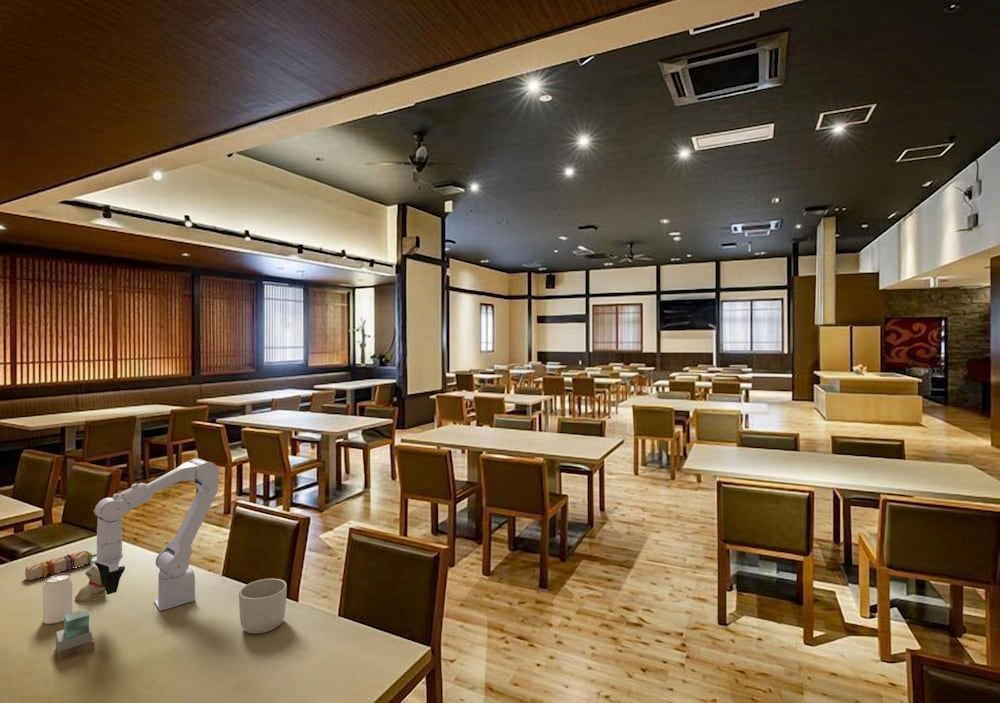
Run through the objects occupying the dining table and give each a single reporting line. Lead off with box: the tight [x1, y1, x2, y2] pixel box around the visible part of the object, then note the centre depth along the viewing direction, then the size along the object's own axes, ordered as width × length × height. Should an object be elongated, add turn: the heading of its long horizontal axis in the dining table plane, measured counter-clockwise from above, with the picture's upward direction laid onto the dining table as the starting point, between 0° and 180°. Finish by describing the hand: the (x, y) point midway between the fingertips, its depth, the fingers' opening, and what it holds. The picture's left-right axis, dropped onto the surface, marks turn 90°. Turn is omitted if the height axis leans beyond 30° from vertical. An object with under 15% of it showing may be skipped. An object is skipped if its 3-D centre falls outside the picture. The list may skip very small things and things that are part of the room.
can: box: [42, 573, 73, 625], centre depth 147 cm, size 6×6×12 cm
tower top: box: [55, 625, 93, 652], centre depth 133 cm, size 6×6×2 cm
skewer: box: [24, 550, 97, 581], centre depth 179 cm, size 21×6×5 cm, turn 147°
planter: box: [238, 578, 288, 635], centre depth 145 cm, size 12×12×11 cm
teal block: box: [63, 608, 90, 639], centre depth 133 cm, size 4×4×4 cm
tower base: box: [55, 636, 95, 661], centre depth 133 cm, size 7×7×2 cm
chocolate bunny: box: [74, 565, 107, 602], centre depth 160 cm, size 6×8×10 cm
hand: (109, 588), depth 145 cm, fingers open, 7 cm apart
